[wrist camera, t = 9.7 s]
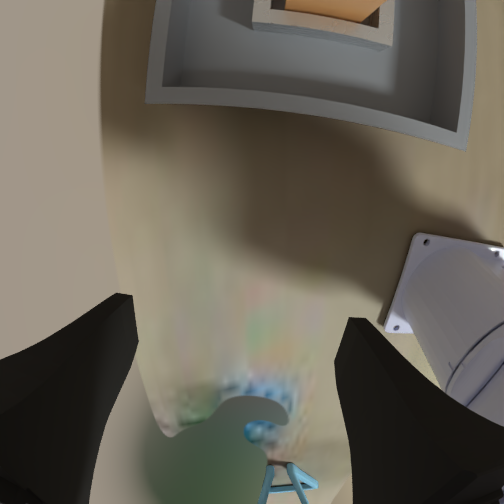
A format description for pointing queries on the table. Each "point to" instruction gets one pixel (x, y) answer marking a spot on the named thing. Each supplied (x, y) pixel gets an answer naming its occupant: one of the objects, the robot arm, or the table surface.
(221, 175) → the table surface
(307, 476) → the chair
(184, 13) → the walled box
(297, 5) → the orange brown rectangular block
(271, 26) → the socket
